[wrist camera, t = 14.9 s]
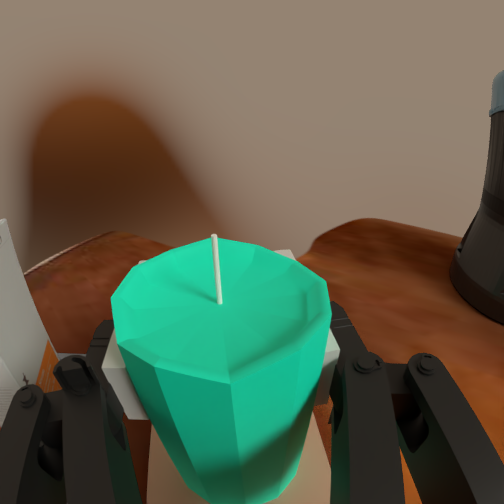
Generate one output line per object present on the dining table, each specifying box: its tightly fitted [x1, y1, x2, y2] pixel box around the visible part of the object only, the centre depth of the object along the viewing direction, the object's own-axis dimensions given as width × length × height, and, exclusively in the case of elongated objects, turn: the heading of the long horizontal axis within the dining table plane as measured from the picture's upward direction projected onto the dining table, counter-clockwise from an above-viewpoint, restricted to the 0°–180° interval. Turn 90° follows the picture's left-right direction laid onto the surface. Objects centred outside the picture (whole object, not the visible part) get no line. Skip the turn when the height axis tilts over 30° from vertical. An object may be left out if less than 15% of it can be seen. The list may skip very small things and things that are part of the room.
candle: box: [111, 234, 332, 504], centre depth 10 cm, size 6×6×12 cm
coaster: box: [147, 411, 331, 504], centre depth 13 cm, size 9×9×1 cm
